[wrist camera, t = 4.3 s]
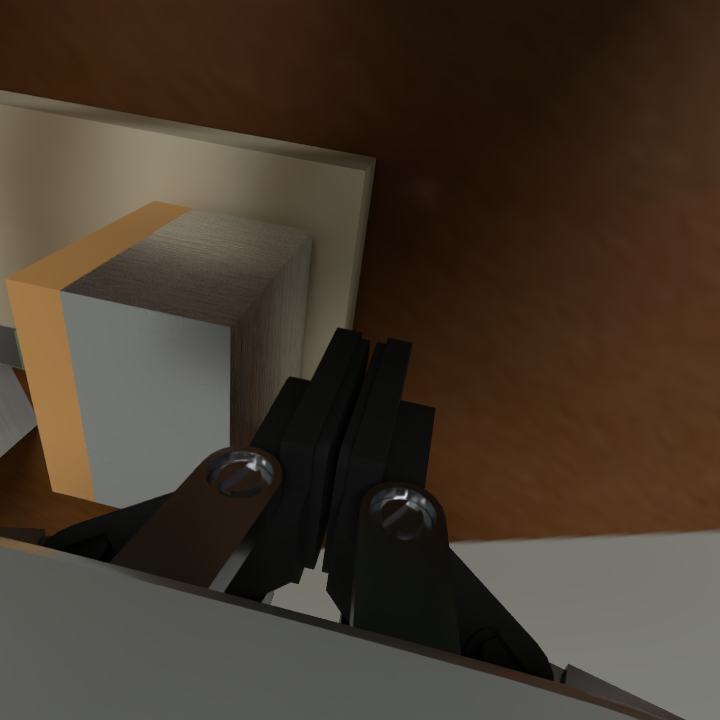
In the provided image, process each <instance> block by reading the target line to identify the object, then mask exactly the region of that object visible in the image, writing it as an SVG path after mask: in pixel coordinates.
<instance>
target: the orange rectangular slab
mask: <svg viewBox="0 0 720 720" xmlns="http://www.w3.org/2000/svg"><path fill="white" fill-rule="evenodd" d="M191 209H192V208H189V207H184V206H179V205H174V204H169V203H164V202H159V201H152V202H150V203H149V204H147V205H145V206H143V207H141V208H139V209H137V210H135V211H133V212H131V213H129V214H128V215H126V216H124V217H122V218H120V219H118V220H116V221H114V222H112V223H110V224H108V225H107V226H105V227H103V228H101V229H99V230H97V231H95V232H93V233H91V234H89V235H87V236H86V237H84V238H82V239H80V240H78V241H76V242H74V243H72V244H70V245H68V246H66V247H65V248H63V249H61V250H59V251H57V252H55V253H53V254H51V255H49V256H47V257H45V258H43V259H42V260H40V261H38V262H36V263H34V264H32V265H30V266H28V267H26V268H24V269H22V270H21V271H19V272H17V273H15V274H13V275H11V276H9V277H7V278H5V282H6V286H7V291H8V295H9V300H10V304H11V308H12V313H13V317H14V322H15V326H16V331H17V335H18V340H19V344H20V349H21V353H22V357H23V362H24V366H25V371H26V375H27V380H28V384H29V389H30V393H31V397H32V402H33V406H34V411H35V415H36V420H37V424H38V429H39V433H40V438H41V442H42V446H43V451H44V455H45V460H46V464H47V469H48V473H49V478H50V482H51V487H52V491H54V492H58V493H62V494H66V495H70V496H74V497H78V498H81V499H85V500H89V501H93V502H95V496H94V490H93V484H92V478H91V473H90V467H89V461H88V455H87V449H86V443H85V437H84V432H83V426H82V420H81V414H80V408H79V402H78V396H77V390H76V385H75V379H74V373H73V367H72V361H71V355H70V349H69V344H68V338H67V332H66V326H65V320H64V314H63V308H62V302H61V297H60V290H61V289H63V288H64V287H66V286H68V285H69V284H71V283H73V282H74V281H76V280H77V279H79V278H81V277H82V276H84V275H85V274H87V273H89V272H90V271H92V270H94V269H95V268H97V267H98V266H100V265H102V264H103V263H105V262H107V261H108V260H110V259H111V258H113V257H115V256H116V255H118V254H119V253H121V252H123V251H124V250H126V249H128V248H129V247H131V246H132V245H134V244H136V243H137V242H139V241H141V240H142V239H144V238H145V237H147V236H149V235H150V234H152V233H153V232H155V231H157V230H158V229H160V228H162V227H163V226H165V225H166V224H168V223H170V222H171V221H173V220H175V219H176V218H178V217H179V216H181V215H183V214H184V213H186V212H188V211H189V210H191Z"/></svg>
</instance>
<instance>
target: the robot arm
mask: <svg viewBox="0 0 720 720" xmlns="http://www.w3.org/2000/svg"><path fill="white" fill-rule="evenodd" d="M412 344H413V343H411V342H406V341H401V340H396V339H392V338H388V340H387V343H386V344H384V343H379V342H377V344H376V347H375V350H374V353H373V356H372V359H371V362H370V365H369V368H368V370H367V373H366V366H367V360H368V354H369V348H370V341H369V340H365V339H362V332H358V331H353V330H349V329H344V328H339V327H337V329H336V331H335V333H334V335H333V337H332V339H331V341H330V343H329V345H328V347H327V349H326V351H325V353H324V355H323V357H322V359H321V361H320V363H319V365H318V367H317V369H316V371H315V373H314V375H313V377H312V379H311V381H310V380H306V379H301V378H297V377H292V376H290V377H288V378H287V380H286V381H285V383H284V385H283V387H282V388H281V390H280V392H279V394H278V395H277V397H276V399H275V401H274V402H273V404H272V406H271V408H270V410H269V411H268V413H267V415H266V417H265V418H264V420H263V422H262V424H261V425H260V427H259V429H258V431H257V432H256V434H255V436H254V438H253V440H252V441H251V443H250V445H249V446H232V447H227V448H223V449H220V450H218V451H216V452H213V453H212V454H210V455H209V456H208V457H207V458H205V459H204V460H203V461H202V462H201V463H200V464H199V465H198V467H197V468H196V469H195V470H194V471H193V472H192V473H191V474H190V475H189V476H188V477H187V479H186V480H185V481H184V482H183V483H182V484H181V485H180V486H179V487H178V488H177V489H176V490H175V491H174V492H171V493H168V494H165V495H162V496H159V497H156V498H153V499H150V500H147V501H144V502H141V503H138V504H135V505H132V506H129V507H126V508H123V509H120V510H117V511H114V512H111V513H108V514H105V515H102V516H99V517H96V518H93V519H90V520H87V521H84V522H81V523H78V524H75V525H72V526H70V527H68V528H65V529H63V530H61V531H59V532H57V533H56V534H55V535H53V536H46V532H45V529H38V528H16V527H0V720H685V719H683V718H680V717H678V716H676V715H674V714H672V713H670V712H668V711H666V710H664V709H662V708H660V707H658V706H655V705H653V704H651V703H649V702H647V701H645V700H643V699H641V698H639V697H637V696H635V695H632V694H630V693H628V692H626V691H624V690H622V689H620V688H618V687H616V686H614V685H611V684H610V683H607V682H605V681H603V680H601V679H599V678H597V677H595V676H593V675H591V674H589V673H587V672H584V671H582V670H580V669H578V668H576V667H574V666H572V665H570V664H568V665H567V666H566V668H565V670H564V669H562V668H560V667H558V666H556V665H554V664H551V663H549V661H548V658H547V657H546V655H545V654H544V652H543V651H542V650H541V648H540V647H539V645H538V644H537V643H536V642H535V641H534V640H533V638H532V637H531V636H530V635H529V634H528V633H527V632H526V631H525V630H524V629H523V627H522V626H521V625H520V624H519V623H518V622H517V621H516V620H515V619H514V617H513V616H511V614H510V613H509V612H508V611H507V610H506V609H505V608H504V606H503V605H502V604H501V603H500V602H499V601H498V600H497V599H496V598H495V597H494V596H493V595H492V593H491V592H490V591H489V590H488V589H487V588H486V587H485V586H484V585H483V583H482V582H481V581H480V580H479V579H478V578H477V577H476V576H475V575H474V574H473V573H472V571H470V569H469V568H468V567H467V566H466V565H465V564H464V563H463V561H462V560H461V559H460V558H459V557H458V556H457V555H456V554H455V553H454V552H453V551H452V549H450V547H449V541H448V532H447V524H446V517H445V513H444V510H443V507H442V506H441V504H440V503H439V502H438V500H437V499H436V498H435V497H434V496H433V495H432V494H430V493H429V492H428V491H427V490H425V482H426V475H427V467H428V460H429V453H430V445H431V438H432V430H433V423H434V415H435V408H434V407H429V406H424V405H420V404H415V403H411V402H406V401H402V400H401V397H402V392H403V388H404V383H405V378H406V373H407V368H408V363H409V359H410V354H411V349H412ZM365 373H366V376H365ZM327 528H328V531H327ZM326 531H327V538H326V545H325V552H324V559H323V566H322V572H325V573H329V574H328V581H327V587H326V591H327V592H328V594H329V595H330V597H331V598H332V600H333V601H334V603H335V604H336V606H337V607H338V609H339V610H340V612H341V615H340V620H339V623H337V622H333V621H329V620H325V619H322V618H318V617H314V616H310V615H306V614H302V613H299V612H294V611H291V610H287V609H283V608H280V607H276V606H272V605H270V604H271V601H272V598H273V595H274V590H275V589H277V588H280V587H282V586H284V585H286V584H288V583H290V582H292V583H296V584H299V581H300V579H301V576H302V572H303V570H304V567H305V568H309V569H314V568H315V565H316V562H317V559H318V556H319V553H320V550H321V547H322V544H323V540H324V537H325V534H326Z"/></svg>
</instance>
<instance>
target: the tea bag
mask: <svg viewBox="0 0 720 720" xmlns="http://www.w3.org/2000/svg"><path fill="white" fill-rule="evenodd" d="M36 425H38V424H37V420H36V415H35V412H34V410H33V408H32V406H31V404H30V402H29V401H28V399H27V397H26V395H25V393H24V391H23V389H22V387H21V385H20V383H19V381H18V379H17V377H16V375H15V373H14V371H13V369H12V367H11V366H8V365H4V364H0V457H1V456H3V455H4V454H5V453H6V452H7V451H8V450H9V449H10V448H12V447H13V446H14V445H15V444H16V443H17V442H18V441H19V440H21V439H22V438H23V437H24V436H25V435H26V434H27V433H29V432H30V431H31V430H32V429H33V428H34V427H35V426H36Z"/></svg>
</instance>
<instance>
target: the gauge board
mask: <svg viewBox="0 0 720 720" xmlns="http://www.w3.org/2000/svg"><path fill="white" fill-rule="evenodd" d="M375 165H376V158H375V157H369V156H364V155H358V154H353V153H347V152H342V151H336V150H331V149H325V148H319V147H314V146H308V145H303V144H297V143H292V142H286V141H281V140H275V139H269V138H264V137H258V136H253V135H247V134H242V133H236V132H231V131H225V130H220V129H214V128H208V127H203V126H197V125H192V124H186V123H181V122H175V121H170V120H164V119H159V118H153V117H147V116H142V115H136V114H131V113H125V112H120V111H114V110H109V109H103V108H98V107H92V106H86V105H81V104H75V103H70V102H64V101H59V100H53V99H48V98H42V97H37V96H31V95H25V94H20V93H14V92H9V91H3V90H0V364H4V365H8V366H12V367H16V368H21V369H23V370H25V366H24V362H23V357H22V353H21V349H20V344H19V340H18V335H17V331H16V326H15V322H14V317H13V313H12V308H11V304H10V300H9V295H8V291H7V286H6V282H5V278H7V277H9V276H11V275H13V274H15V273H17V272H19V271H21V270H22V269H24V268H26V267H28V266H30V265H32V264H34V263H36V262H38V261H40V260H42V259H43V258H45V257H47V256H49V255H51V254H53V253H55V252H57V251H59V250H61V249H63V248H65V247H66V246H68V245H70V244H72V243H74V242H76V241H78V240H80V239H82V238H84V237H86V236H87V235H89V234H91V233H93V232H95V231H97V230H99V229H101V228H103V227H105V226H107V225H108V224H110V223H112V222H114V221H116V220H118V219H120V218H122V217H124V216H126V215H128V214H129V213H131V212H133V211H135V210H137V209H139V208H141V207H143V206H145V205H147V204H149V203H150V202H152V201H159V202H164V203H169V204H174V205H179V206H184V207H189V208H194V209H199V210H205V211H210V212H215V213H220V214H225V215H230V216H235V217H240V218H245V219H250V220H256V221H261V222H266V223H271V224H276V225H281V226H286V227H291V228H296V229H302V230H307V231H312V244H311V255H310V267H309V278H308V289H307V301H306V312H305V324H304V335H303V347H302V358H301V369H300V378H301V379H306V380H310V381H311V379H312V377H313V375H314V373H315V371H316V369H317V367H318V365H319V363H320V361H321V359H322V357H323V355H324V353H325V351H326V349H327V347H328V345H329V343H330V341H331V339H332V337H333V335H334V333H335V331H336V329H337V327H339V328H344V329H349V330H352V329H353V322H354V315H355V308H356V301H357V293H358V286H359V279H360V272H361V265H362V258H363V251H364V244H365V236H366V229H367V222H368V215H369V208H370V201H371V194H372V187H373V179H374V172H375Z"/></svg>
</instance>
